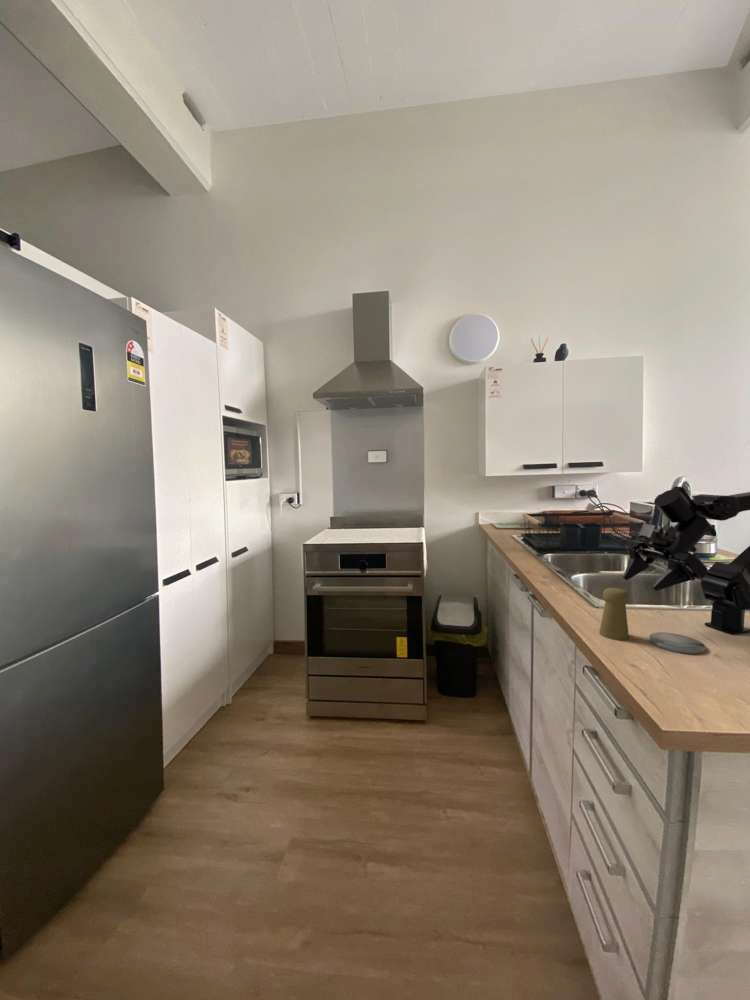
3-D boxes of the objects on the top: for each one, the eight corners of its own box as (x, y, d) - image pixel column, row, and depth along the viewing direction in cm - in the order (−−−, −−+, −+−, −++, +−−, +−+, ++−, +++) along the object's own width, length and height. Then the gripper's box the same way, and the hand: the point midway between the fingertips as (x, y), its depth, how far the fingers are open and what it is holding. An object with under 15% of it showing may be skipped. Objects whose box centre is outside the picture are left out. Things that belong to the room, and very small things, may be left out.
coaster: (672, 633, 100) (672, 630, 100) (716, 651, 91) (716, 647, 91) (638, 638, 98) (638, 634, 98) (680, 656, 88) (680, 652, 88)
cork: (633, 641, 96) (635, 593, 95) (603, 639, 97) (606, 591, 96) (623, 631, 102) (625, 586, 101) (595, 629, 103) (597, 584, 102)
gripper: (633, 508, 108) (591, 552, 107) (699, 516, 90) (648, 569, 89) (660, 539, 110) (618, 582, 109) (729, 553, 91) (680, 605, 91)
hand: (638, 583), depth 99 cm, fingers open, 9 cm apart
